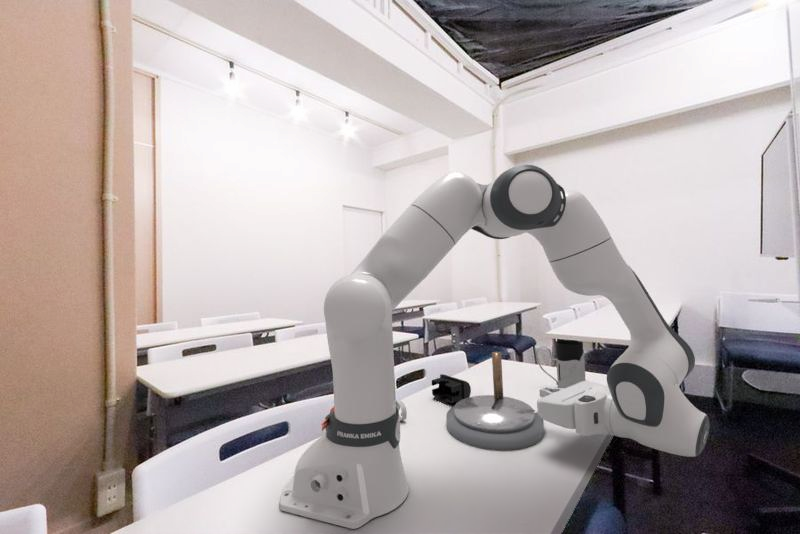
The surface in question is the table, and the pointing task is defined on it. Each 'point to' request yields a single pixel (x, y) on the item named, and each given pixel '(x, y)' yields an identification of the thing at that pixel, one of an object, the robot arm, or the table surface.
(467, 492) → the table surface
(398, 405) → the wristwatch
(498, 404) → the dial
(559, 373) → the glass holder
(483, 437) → the base
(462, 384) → the end cap
